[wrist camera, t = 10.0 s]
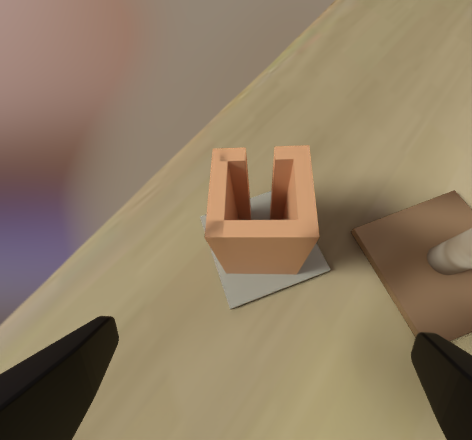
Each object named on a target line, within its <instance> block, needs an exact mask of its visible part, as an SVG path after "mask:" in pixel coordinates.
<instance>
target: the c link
mask: <svg viewBox="0 0 472 440" xmlns="http://www.w3.org/2000/svg"><path fill="white" fill-rule="evenodd" d="M205 239H206V241H207V242H208V244H209V246H210V247H211V249H212V251H213V252H214V254H215V256H216V257H217V259H218V261H219V262H220V264H221V266H222V267H223V269H224V271H225V272H226V274H292V275H297V273H298V272H299V270H300V268H301V267H302V265H303V264H304V262H305V260H306V259H307V257H308V255H309V254H310V252H311V250H312V249H313V247H314V246H315V244H316V242H317V241H318V239H319V228H318V219H317V210H316V201H315V192H314V183H313V174H312V165H311V156H310V147H309V145H305V146H277V147H275V149H274V163H273V177H272V191H271V205H270V220H251V204H250V192H249V180H248V169H247V157H246V148H221V149H213V152H212V162H211V173H210V184H209V195H208V205H207V216H206V227H205Z"/></svg>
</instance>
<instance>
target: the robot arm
mask: <svg viewBox="0 0 472 440" xmlns="http://www.w3.org/2000/svg"><path fill="white" fill-rule="evenodd" d="M118 341H119V335H118V331H117V327H116V323H115V319H114V318H113V317H111V316H99V317H97V318H95V319H94V320H92V321H90V322H89V323H87V324H85V325H83V326H82V327H80V328H78V329H77V330H75V331H73V332H72V333H70V334H68V335H66V336H65V337H63V338H61V339H60V340H58V341H56V342H55V343H53V344H51V345H49V346H48V347H46V348H44V349H43V350H41V351H39V352H37V353H36V354H34V355H32V356H31V357H29V358H27V359H26V360H24V361H22V362H20V363H19V364H17V365H15V366H14V367H12V368H10V369H8V370H7V371H5V372H3V373H2V374H0V440H72V438H73V437H74V435H75V433H76V431H77V429H78V427H79V425H80V424H81V422H82V420H83V418H84V416H85V414H86V412H87V411H88V409H89V407H90V405H91V403H92V401H93V399H94V397H95V395H96V393H97V391H98V389H99V387H100V384H101V382H102V380H103V377H104V375H105V373H106V370H107V368H108V366H109V363H110V361H111V359H112V357H113V354H114V352H115V350H116V347H117V345H118ZM411 359H412V363H413V365H414V368H415V370H416V372H417V375H418V377H419V379H420V382H421V384H422V386H423V389H424V391H425V393H426V396H427V398H428V400H429V403H430V405H431V407H432V410H433V412H434V414H435V417H436V419H437V421H438V423H439V425H440V427H441V429H442V431H443V433H444V435H445V437H446V439H447V440H472V355H470V354H469V353H467V352H466V351H464V350H462V349H461V348H459V347H458V346H456V345H454V344H453V343H451V342H450V341H448V340H446V339H445V338H443V337H442V336H440V335H438V334H436V333H432V332H419V333H418V334H417V335H416V338H415V342H414V345H413V349H412V352H411Z"/></svg>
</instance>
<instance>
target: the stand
mask: <svg viewBox="0 0 472 440" xmlns="http://www.w3.org/2000/svg"><path fill="white" fill-rule="evenodd" d="M351 233H352V234H353V236H354V238H355V239H356V241H357V243H358V244H359V246H360V247H361V249H362V251H363V252H364V254H365V256H366V257H367V259H368V260H369V262H370V264H371V265H372V267H373V269H374V270H375V272H376V274H377V275H378V277H379V278H380V280H381V282H382V283H383V285H384V287H385V288H386V290H387V291H388V293H389V295H390V296H391V298H392V300H393V301H394V303H395V304H396V306H397V308H398V309H399V311H400V313H401V314H402V316H403V317H404V319H405V321H406V322H407V324H408V326H409V327H410V329H411V331H412V332H413V334H414V335H415V337H416V335H417V334H418V333H419V332H432V333H436V334H438V335H440V336H442V337H443V338H445V339H446V340H448V341H451V340H453V339H455V338H458V337H460V336H463V335H465V334H467V333H470V332H472V209H471V208H470V207H469V206H468V205H467V204H466V203H465V202H464V200H463V199H462V198H461V197H460V196H459V195H458V194H457V193H456V191H455V190H454V191H451V192H449V193H446V194H443V195H441V196H438V197H436V198H433V199H430V200H428V201H425V202H422V203H420V204H417V205H414V206H412V207H409V208H407V209H404V210H401V211H399V212H396V213H393V214H391V215H388V216H385V217H383V218H380V219H378V220H375V221H372V222H370V223H367V224H364V225H362V226H359V227H356V228H354V229H353V230H352V231H351Z"/></svg>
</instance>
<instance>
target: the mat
mask: <svg viewBox="0 0 472 440" xmlns="http://www.w3.org/2000/svg"><path fill="white" fill-rule="evenodd" d="M250 204H251V220H270V205H271V191H269V192H267V193H264V194H261V195H258V196H255V197H253V198H250ZM206 216H207V214H206V215H203V216H200V218H201V221H202V224H203V227H204V231H205V227H206ZM210 249H211V247H210ZM211 252H212V255H213V258H214V261H215V264H216V267H217V270H218V273H219V276H220V279H221V283H222V286H223V289H224V292H225V295H226V298H227V301H228V304H229V307H230V309H233V308H235V307H238V306H241V305H243V304H246V303H248V302H251V301H254V300H256V299H259V298H261V297H264V296H266V295H269V294H272V293H274V292H277V291H279V290H282V289H284V288H287V287H290V286H292V285H295V284H297V283H300V282H302V281H305V280H308V279H310V278H313V277H315V276H318V275H320V274H323V273H326V272H328V271H330V270H331V269H330V267H329V266H328V264H327V262H326V260H325V258H324V256H323V254H322V252H321V251H320V249H319V247H318V245H317V243H316V244H315V246H314V247H313V249H312V250H311V252H310V254H309V255H308V257H307V259H306V260H305V262H304V264H303V265H302V267H301V268H300V270H299V272H298V273H297V275H292V274H226V272H225V271H224V269H223V267H222V266H221V264H220V262H219V261H218V259H217V257H216V256H215V254H214V252H213V251H212V249H211Z"/></svg>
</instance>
